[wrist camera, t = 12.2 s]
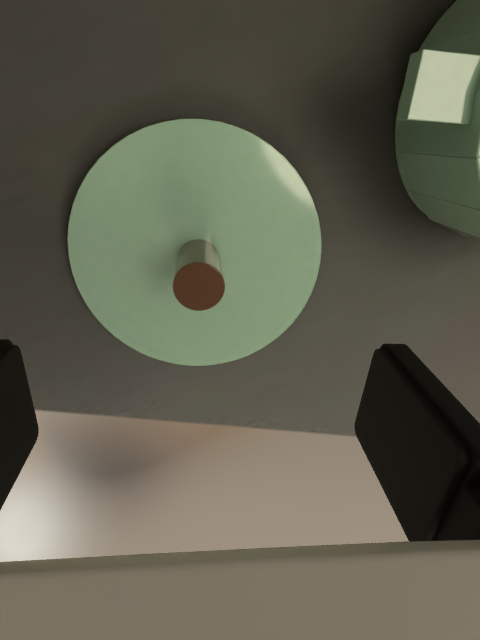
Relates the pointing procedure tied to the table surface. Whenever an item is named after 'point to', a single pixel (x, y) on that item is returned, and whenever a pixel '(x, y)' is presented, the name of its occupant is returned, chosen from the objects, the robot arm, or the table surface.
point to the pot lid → (194, 242)
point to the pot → (444, 122)
